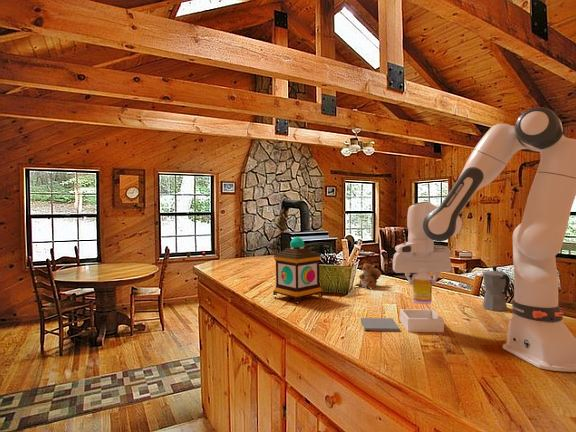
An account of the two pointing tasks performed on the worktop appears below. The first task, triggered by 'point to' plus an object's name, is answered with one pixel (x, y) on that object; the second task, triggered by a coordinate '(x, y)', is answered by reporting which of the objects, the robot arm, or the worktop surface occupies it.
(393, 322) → the mat
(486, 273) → the coffeepot
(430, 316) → the bin
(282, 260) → the decorative lantern
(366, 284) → the stuffed squirrel
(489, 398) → the worktop surface
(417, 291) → the supplement bottle
